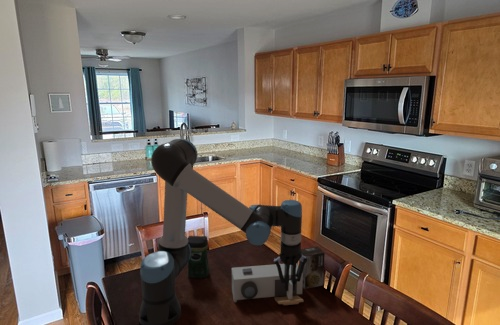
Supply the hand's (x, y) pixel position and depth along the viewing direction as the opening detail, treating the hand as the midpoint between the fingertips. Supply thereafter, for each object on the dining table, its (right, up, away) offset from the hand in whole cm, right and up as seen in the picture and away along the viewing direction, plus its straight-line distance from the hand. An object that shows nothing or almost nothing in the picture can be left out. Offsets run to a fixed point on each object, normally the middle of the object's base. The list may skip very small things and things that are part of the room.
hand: (289, 297), depth 129 cm
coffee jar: (-39, +1, +23) cm, 45 cm away
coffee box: (+11, -1, +15) cm, 18 cm away
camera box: (-8, -2, +9) cm, 13 cm away
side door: (-1, -2, +5) cm, 6 cm away
